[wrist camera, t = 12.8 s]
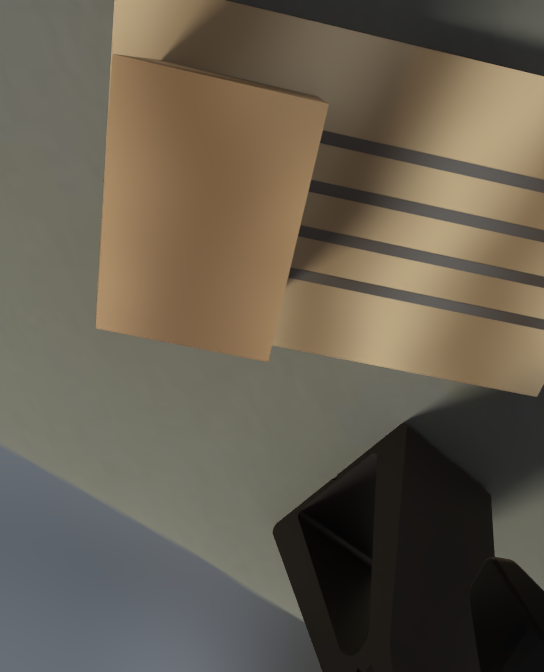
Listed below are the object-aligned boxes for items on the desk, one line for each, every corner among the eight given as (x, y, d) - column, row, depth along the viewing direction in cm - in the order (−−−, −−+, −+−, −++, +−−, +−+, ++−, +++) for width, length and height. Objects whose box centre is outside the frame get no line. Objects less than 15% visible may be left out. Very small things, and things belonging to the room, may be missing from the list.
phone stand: (405, 420, 23) (505, 710, 13) (488, 490, 25) (638, 797, 14) (272, 525, 27) (261, 829, 16) (353, 581, 28) (394, 889, 18)
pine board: (661, 108, 17) (686, 110, 16) (525, 381, 22) (537, 397, 21) (127, -20, 16) (116, -27, 15) (106, 299, 21) (96, 311, 20)
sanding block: (317, 96, 16) (328, 103, 12) (272, 296, 20) (268, 361, 15) (161, 60, 16) (112, 53, 12) (140, 269, 19) (95, 328, 15)
